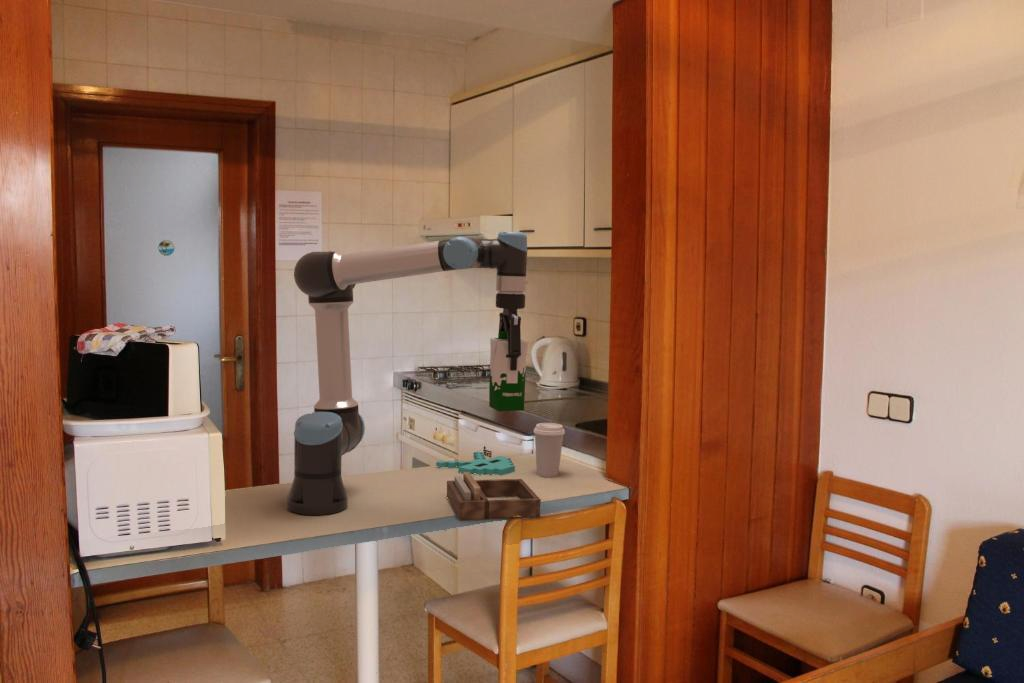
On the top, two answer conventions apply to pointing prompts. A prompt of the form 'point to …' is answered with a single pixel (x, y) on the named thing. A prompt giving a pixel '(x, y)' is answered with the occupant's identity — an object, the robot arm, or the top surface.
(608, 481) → the top surface
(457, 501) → the offcut rack
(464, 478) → the birch offcut
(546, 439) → the coffee cup
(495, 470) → the alien figure
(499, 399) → the soya milk
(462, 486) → the grey offcut
